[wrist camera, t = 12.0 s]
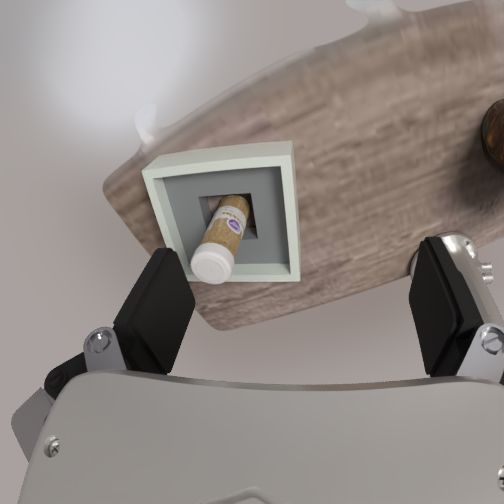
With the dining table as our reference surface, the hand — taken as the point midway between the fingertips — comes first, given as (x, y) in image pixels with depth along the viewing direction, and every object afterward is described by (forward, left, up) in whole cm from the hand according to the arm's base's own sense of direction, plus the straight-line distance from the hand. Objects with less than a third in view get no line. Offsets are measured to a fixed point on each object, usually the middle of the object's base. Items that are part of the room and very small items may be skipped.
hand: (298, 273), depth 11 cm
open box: (+11, +12, -28) cm, 32 cm away
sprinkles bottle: (+10, +12, -28) cm, 33 cm away
